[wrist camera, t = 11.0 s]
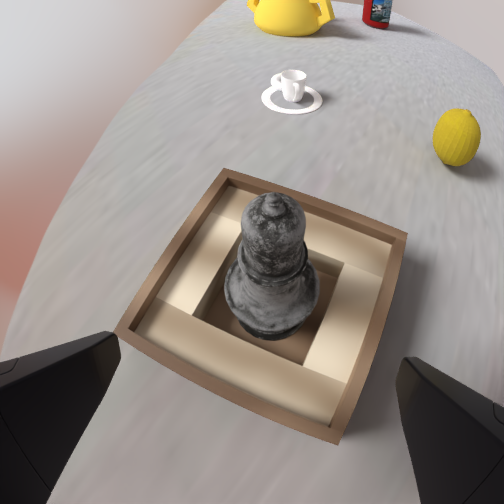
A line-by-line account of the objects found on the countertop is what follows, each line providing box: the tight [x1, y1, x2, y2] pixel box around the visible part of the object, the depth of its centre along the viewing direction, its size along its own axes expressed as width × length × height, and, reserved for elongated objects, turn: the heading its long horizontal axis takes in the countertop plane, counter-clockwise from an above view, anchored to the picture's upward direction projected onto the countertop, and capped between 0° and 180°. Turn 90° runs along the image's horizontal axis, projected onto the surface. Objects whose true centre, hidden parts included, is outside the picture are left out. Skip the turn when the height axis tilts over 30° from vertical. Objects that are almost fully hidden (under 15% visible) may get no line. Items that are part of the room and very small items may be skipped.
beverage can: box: [362, 0, 392, 29], centre depth 51 cm, size 7×7×12 cm
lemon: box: [433, 109, 481, 166], centre depth 27 cm, size 6×6×8 cm
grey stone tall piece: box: [224, 192, 320, 341], centre depth 17 cm, size 6×6×12 cm
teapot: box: [247, 0, 335, 36], centre depth 48 cm, size 20×18×11 cm
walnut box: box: [113, 168, 408, 445], centre depth 21 cm, size 15×15×4 cm
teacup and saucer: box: [262, 70, 322, 114], centre depth 36 cm, size 9×8×4 cm
